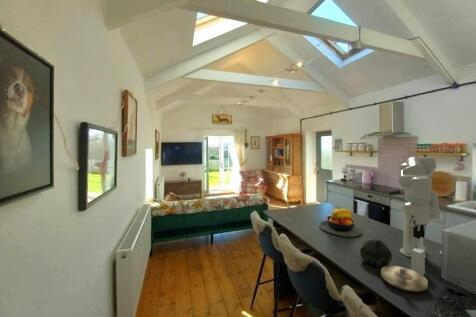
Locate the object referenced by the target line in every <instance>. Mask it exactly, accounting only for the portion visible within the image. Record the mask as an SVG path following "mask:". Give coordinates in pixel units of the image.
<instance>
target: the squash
mask: <svg viewBox="0 0 476 317" xmlns="http://www.w3.org/2000/svg"><path fill="white" fill-rule="evenodd" d="M359 255H360V257H361V259H362V260H363V261H364V262H366V263H367V264H370V265H372V266H373V265H374V267H376V268H383V267H385V266H389V263H390V262H391V261H392V260H393V255H392V251H391V250H390V248H389V247H388V245H387V244H385V243H384V242H383V241H382V240H380V239H370V240H366V241H365V242H364V243H362V246H361V247H360V249H359Z"/></svg>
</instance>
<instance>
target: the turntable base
mask: <svg viewBox="0 0 476 317" xmlns="http://www.w3.org/2000/svg"><path fill="white" fill-rule="evenodd" d="M387 284H389V285H390V286H391V287H393V288H395V289H397V290H399V291H403V292H407V293H420V292H421V291H411V290H406V289H402V288H399V287H397V286H394V285H392V284H390V283H389V282H387Z"/></svg>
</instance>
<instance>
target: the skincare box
mask: <svg viewBox="0 0 476 317" xmlns="http://www.w3.org/2000/svg"><path fill="white" fill-rule="evenodd" d="M425 255H426V249H425V250H421V249H418V248H415V249H413V250H411V257H410V270H413V271H415V272H417V273H419V274H421V275H422V276H424V275H425V274H426V263H425V262H426V260H425V259H426V258H425Z"/></svg>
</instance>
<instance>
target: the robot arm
mask: <svg viewBox="0 0 476 317" xmlns="http://www.w3.org/2000/svg"><path fill="white" fill-rule="evenodd" d="M436 169H437V161H436V159H435V158H434V157H431V156H412V157H408V158H407V159H406V161H405V163H402V164H400V166H399V170H398V172H399V174H398V184H399V187H400V188H402V189H404V200H405V201H406V202H405V203H403V204H402V208H401V209H402V216H403V236H402V238H403V240H402V242H403V243H402V247H401V248H400V249H399V253H400V254H402V255H404V256H406V257H409V258H411V250H413V249H415V248H418V249H421V250H425V251H426V250H427V246H425V245H424V238H425V236H426V227H427V225H429V223H430V221H431V222H438V221H439V220H440V219H441V211H440V203H439V196H438V194H437V192H436V191H435V190H433V189H432V187H433V185H434V184H433V180H432V178H431V177H432V176H433V174H434V173H435V171H436ZM426 257H427V255H426V254H425V259H426Z"/></svg>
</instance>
